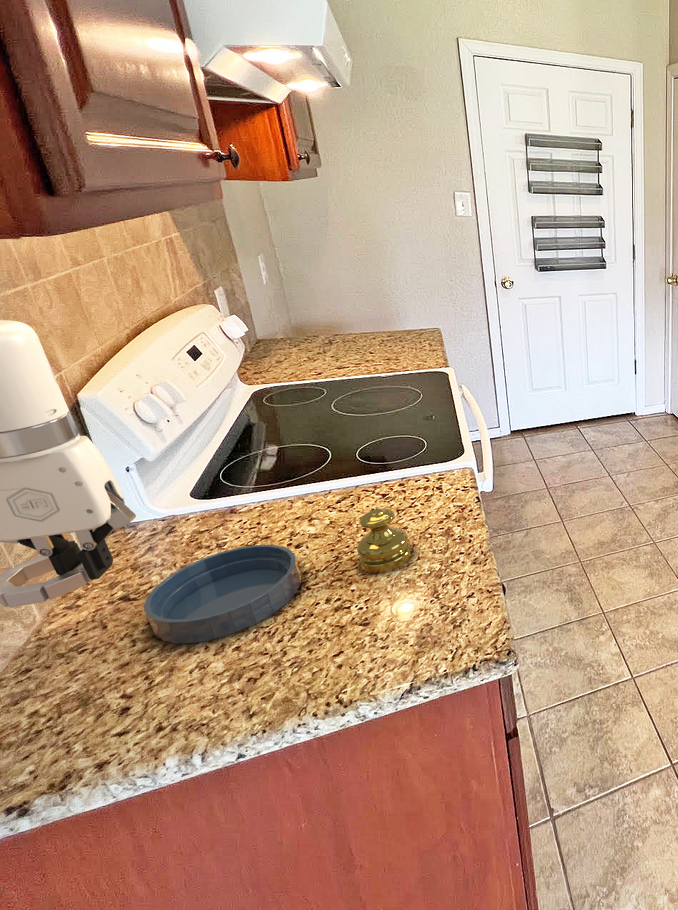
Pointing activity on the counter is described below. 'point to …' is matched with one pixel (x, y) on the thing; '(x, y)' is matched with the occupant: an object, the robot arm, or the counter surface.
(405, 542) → the brass weight
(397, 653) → the counter surface
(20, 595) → the ring
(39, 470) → the robot arm
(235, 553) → the bowl
